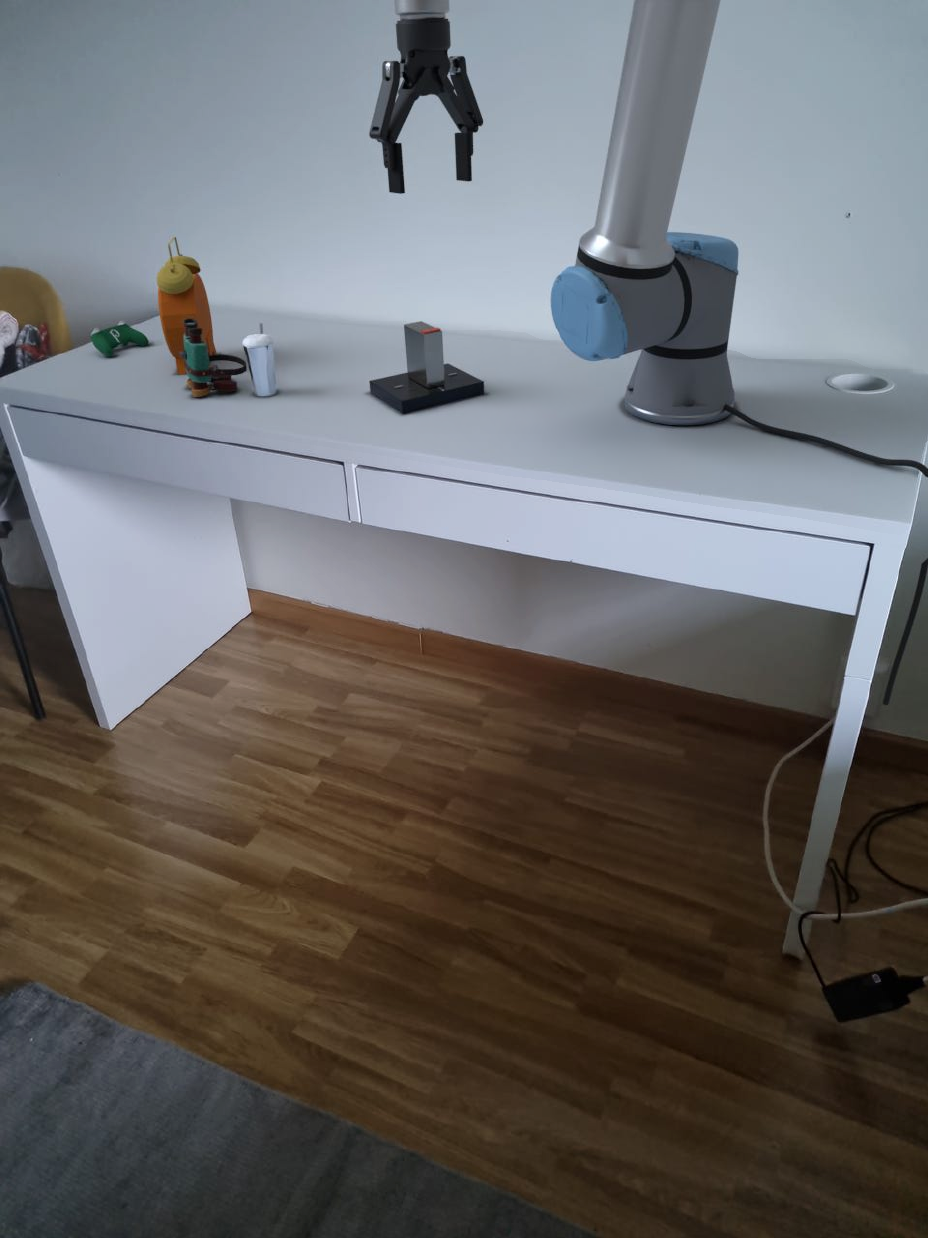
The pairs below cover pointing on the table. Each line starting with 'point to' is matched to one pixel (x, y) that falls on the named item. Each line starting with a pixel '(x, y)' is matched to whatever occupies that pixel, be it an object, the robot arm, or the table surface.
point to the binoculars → (206, 363)
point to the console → (426, 390)
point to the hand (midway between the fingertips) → (431, 186)
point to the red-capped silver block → (424, 354)
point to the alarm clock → (183, 304)
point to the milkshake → (261, 362)
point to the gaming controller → (116, 338)
